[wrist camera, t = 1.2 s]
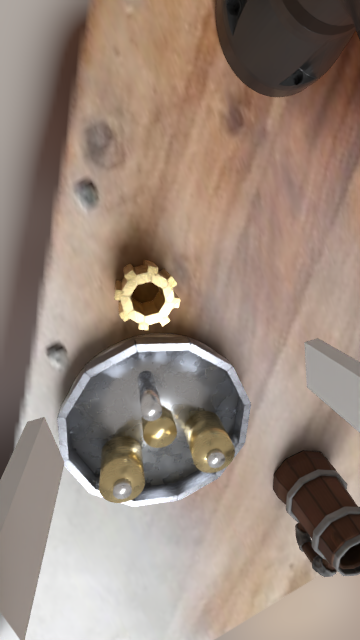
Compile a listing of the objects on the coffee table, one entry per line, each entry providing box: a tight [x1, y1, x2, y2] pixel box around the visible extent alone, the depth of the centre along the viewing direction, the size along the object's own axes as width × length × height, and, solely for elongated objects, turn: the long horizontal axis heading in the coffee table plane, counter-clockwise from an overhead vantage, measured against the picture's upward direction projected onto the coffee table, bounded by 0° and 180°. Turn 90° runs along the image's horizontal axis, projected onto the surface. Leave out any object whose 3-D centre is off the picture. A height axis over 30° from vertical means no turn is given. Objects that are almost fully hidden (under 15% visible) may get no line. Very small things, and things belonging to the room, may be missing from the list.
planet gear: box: [114, 260, 180, 330], centre depth 36 cm, size 7×7×6 cm
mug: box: [273, 451, 360, 577], centre depth 50 cm, size 16×12×15 cm
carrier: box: [57, 333, 251, 506], centre depth 41 cm, size 27×27×10 cm
